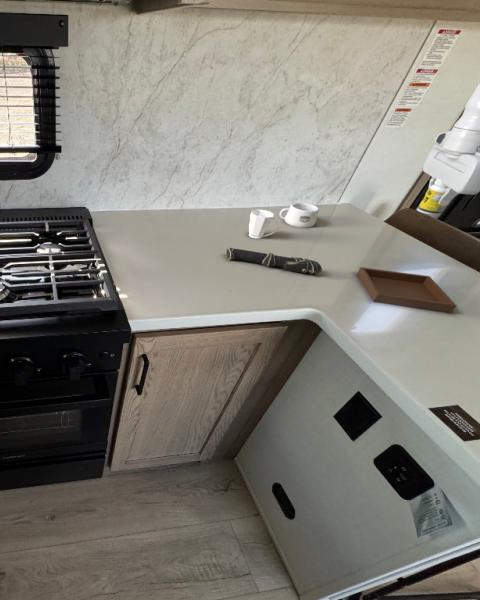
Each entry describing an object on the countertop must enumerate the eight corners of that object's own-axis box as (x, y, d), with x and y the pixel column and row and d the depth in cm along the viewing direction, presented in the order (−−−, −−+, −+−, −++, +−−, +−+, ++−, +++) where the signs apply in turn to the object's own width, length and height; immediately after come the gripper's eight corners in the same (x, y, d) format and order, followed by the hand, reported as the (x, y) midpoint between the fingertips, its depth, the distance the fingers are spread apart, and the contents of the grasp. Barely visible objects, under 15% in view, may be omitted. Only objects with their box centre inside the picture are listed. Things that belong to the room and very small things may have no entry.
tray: (424, 284, 91) (429, 276, 90) (450, 314, 81) (456, 305, 80) (356, 274, 96) (360, 267, 94) (372, 302, 85) (377, 294, 84)
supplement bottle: (416, 207, 93) (434, 175, 88) (439, 211, 90) (459, 178, 85) (416, 212, 90) (436, 180, 85) (440, 216, 87) (462, 183, 82)
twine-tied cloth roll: (225, 251, 100) (324, 269, 91) (228, 240, 103) (325, 257, 94) (222, 262, 103) (318, 281, 94) (226, 251, 106) (319, 268, 97)
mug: (310, 219, 127) (316, 203, 123) (317, 229, 119) (324, 213, 116) (274, 215, 129) (280, 200, 126) (279, 226, 122) (285, 209, 118)
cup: (242, 231, 119) (248, 208, 114) (272, 233, 118) (280, 210, 113) (246, 240, 113) (253, 216, 109) (278, 242, 112) (287, 218, 107)
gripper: (517, 153, 71) (472, 217, 79) (464, 134, 87) (432, 189, 95) (478, 151, 73) (439, 213, 81) (434, 133, 89) (405, 187, 97)
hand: (435, 200), depth 88 cm, fingers closed on supplement bottle, 5 cm apart
